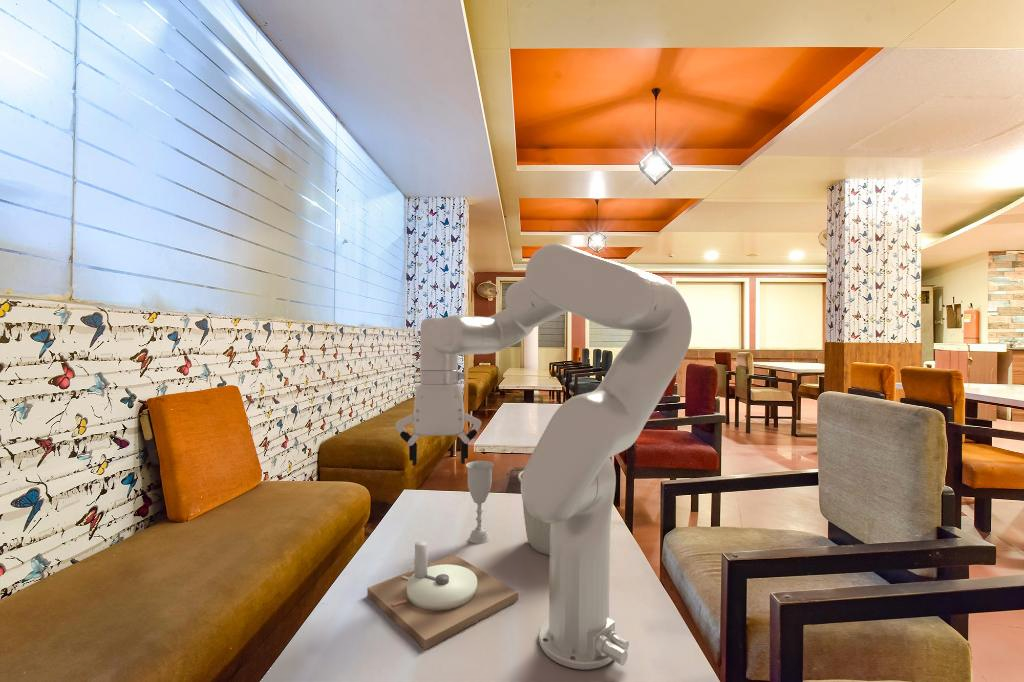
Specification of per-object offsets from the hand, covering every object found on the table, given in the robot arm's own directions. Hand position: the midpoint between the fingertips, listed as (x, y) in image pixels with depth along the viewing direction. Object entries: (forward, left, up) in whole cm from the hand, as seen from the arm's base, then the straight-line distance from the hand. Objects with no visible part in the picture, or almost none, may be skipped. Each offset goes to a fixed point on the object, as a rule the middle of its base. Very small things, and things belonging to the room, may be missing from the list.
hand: (439, 463), depth 92 cm
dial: (-7, +4, -22) cm, 23 cm away
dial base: (-7, +4, -23) cm, 24 cm away
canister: (-7, -28, -23) cm, 37 cm away
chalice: (+8, -17, -23) cm, 30 cm away
